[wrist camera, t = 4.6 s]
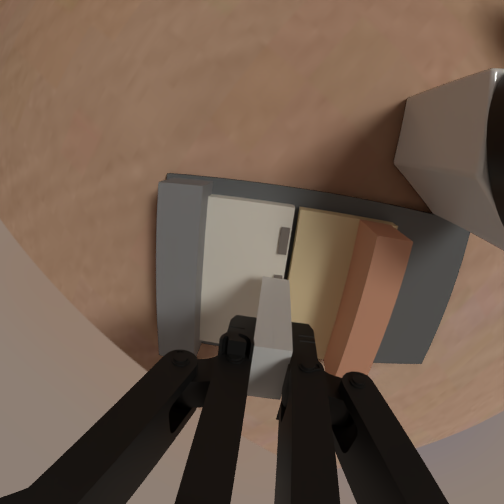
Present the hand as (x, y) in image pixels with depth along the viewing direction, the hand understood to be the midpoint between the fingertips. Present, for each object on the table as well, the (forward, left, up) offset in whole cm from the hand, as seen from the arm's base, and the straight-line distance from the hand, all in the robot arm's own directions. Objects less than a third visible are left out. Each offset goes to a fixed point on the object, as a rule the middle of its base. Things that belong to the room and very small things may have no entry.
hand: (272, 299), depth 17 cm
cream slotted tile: (-3, 0, -3) cm, 4 cm away
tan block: (+4, 0, -2) cm, 4 cm away
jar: (+10, +11, -3) cm, 15 cm away
